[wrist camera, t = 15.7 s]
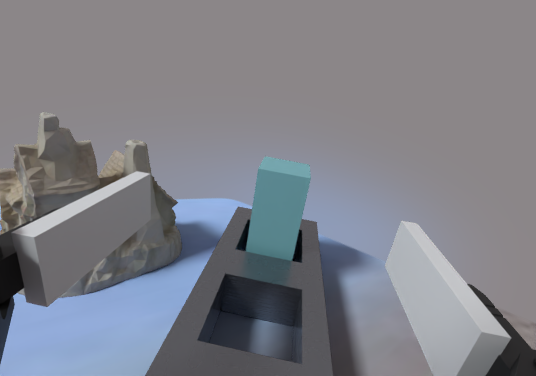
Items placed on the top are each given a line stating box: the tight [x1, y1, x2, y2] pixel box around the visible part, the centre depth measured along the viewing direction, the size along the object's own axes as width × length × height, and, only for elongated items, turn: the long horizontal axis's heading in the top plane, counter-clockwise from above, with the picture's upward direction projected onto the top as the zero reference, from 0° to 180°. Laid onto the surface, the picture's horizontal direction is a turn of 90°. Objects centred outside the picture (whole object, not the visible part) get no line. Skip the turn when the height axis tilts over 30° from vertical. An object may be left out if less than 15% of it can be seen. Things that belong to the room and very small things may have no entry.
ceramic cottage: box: [0, 112, 182, 298], centre depth 28 cm, size 16×16×15 cm
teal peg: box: [246, 157, 311, 261], centre depth 28 cm, size 5×5×12 cm
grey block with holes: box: [145, 207, 333, 376], centre depth 25 cm, size 22×10×4 cm, turn 173°
